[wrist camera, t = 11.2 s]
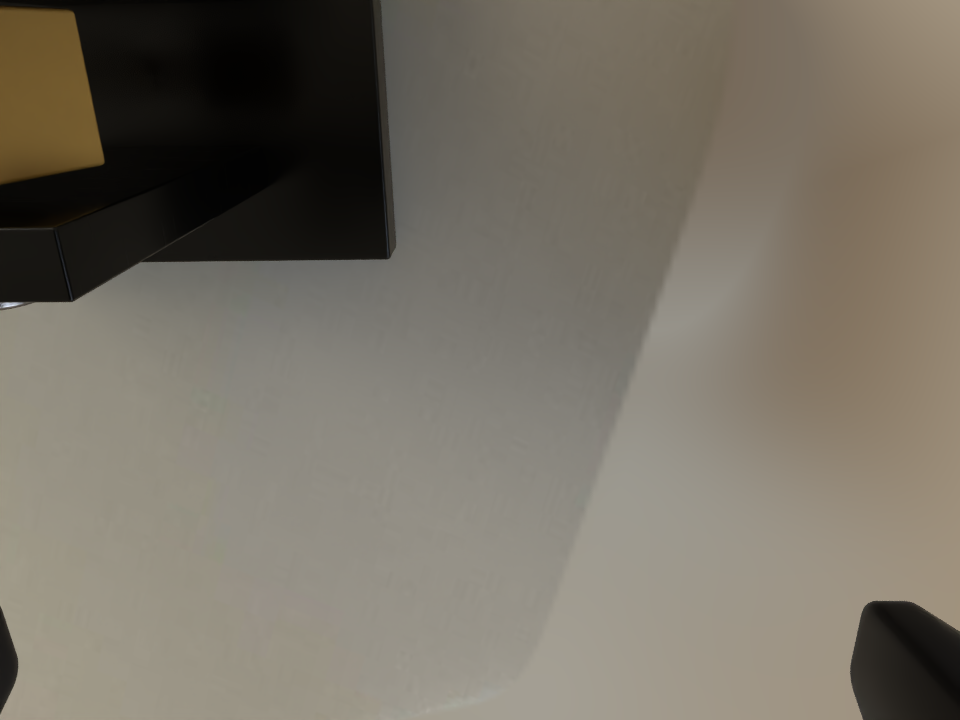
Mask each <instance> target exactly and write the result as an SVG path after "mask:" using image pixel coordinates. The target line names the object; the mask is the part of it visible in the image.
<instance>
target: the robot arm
mask: <svg viewBox="0 0 960 720" xmlns="http://www.w3.org/2000/svg"><path fill="white" fill-rule="evenodd" d="M850 669H851V671H850V672H851V673H850V674H851V683H852V687H853V691H854V694H855V697H856V700H857V703H858V706H859V709H860V712H861V714H862V717H863V720H960V631H958V630H956V629H955V628H953V627H952V626H950V625H948V624H947V623H945V622H944V621H942V620H941V619H939V618H937V617H936V616H934V615H933V614H931V613H929V612H928V611H926V610H925V609H923V608H922V607H920V606H918V605H916V604H914V603H912V602H907V601H873V602H870V603H868V604H867V605H866V606H865V607H864V609H863V611H862V615H861V619H860V623H859V628H858V632H857V637H856V642H855V647H854V651H853V656H852V660H851V668H850ZM17 673H18V658H17V654H16V651H15V648H14V645H13V642H12V639H11V636H10V633H9V630H8V627H7V624H6V621H5V617H4V614H3V611H2V609H1V607H0V713H1V711H2V709H3V707H4V705H5V703H6V701H7V699H8V697H9V695H10V693H11V691H12V689H13V686H14V684H15V681H16V677H17Z"/></svg>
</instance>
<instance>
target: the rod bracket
mask: <svg viewBox="0 0 960 720" xmlns="http://www.w3.org/2000/svg"><path fill="white" fill-rule="evenodd" d="M0 5H1V6H21V7H41V8H61V9H69V10H71V11H73V12H74V14H75V18H76V23H77V28H78V33H79V38H80V42H81V47H82V52H83V57H84V62H85V67H86V72H87V77H88V81H89V86H90V91H91V96H92V101H93V106H94V111H95V116H96V121H97V125H98V130H99V135H100V140H101V145H102V150H103V155H104V160H105V162H104V164H103V165H101V166H97V167H92V168H87V169H82V170H77V171H71V172H66V173H61V174H56V175H51V176H46V177H40V178H35V179H30V180H25V181H20V182H15V183H10V184H4V185H0V310H6V309H11V308H16V307H21V306H25V305H28V304H32V303H34V302H73V301H75V300H77V299H78V298H80V297H82V296H83V295H85V294H87V293H89V292H90V291H92V290H94V289H95V288H97V287H99V286H101V285H102V284H104V283H106V282H107V281H109V280H111V279H112V278H114V277H116V276H118V275H119V274H121V273H123V272H124V271H126V270H128V269H130V268H131V267H133V266H135V265H136V264H138V263H140V262H199V261H285V260H371V259H389V258H390V257H391V255H392V253H393V251H394V250H395V248H396V236H395V220H394V204H393V189H392V173H391V157H390V141H389V126H388V110H387V94H386V79H385V63H384V47H383V32H382V16H381V0H0Z"/></svg>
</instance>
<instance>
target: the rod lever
mask: <svg viewBox="0 0 960 720" xmlns="http://www.w3.org/2000/svg"><path fill="white" fill-rule="evenodd" d="M104 162H105V160H104V155H103V150H102V145H101V140H100V135H99V130H98V125H97V121H96V116H95V111H94V106H93V101H92V96H91V91H90V86H89V81H88V77H87V72H86V67H85V62H84V57H83V52H82V47H81V42H80V38H79V33H78V28H77V23H76V18H75V14H74V12H73V11H71V10H69V9H61V8H41V7H21V6H1V5H0V185H4V184H10V183H15V182H20V181H25V180H30V179H35V178H40V177H46V176H51V175H56V174H61V173H66V172H71V171H77V170H82V169H87V168H92V167H97V166H101V165H103V164H104Z"/></svg>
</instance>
